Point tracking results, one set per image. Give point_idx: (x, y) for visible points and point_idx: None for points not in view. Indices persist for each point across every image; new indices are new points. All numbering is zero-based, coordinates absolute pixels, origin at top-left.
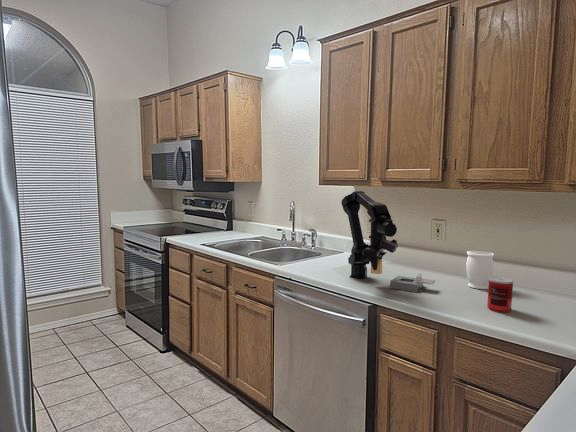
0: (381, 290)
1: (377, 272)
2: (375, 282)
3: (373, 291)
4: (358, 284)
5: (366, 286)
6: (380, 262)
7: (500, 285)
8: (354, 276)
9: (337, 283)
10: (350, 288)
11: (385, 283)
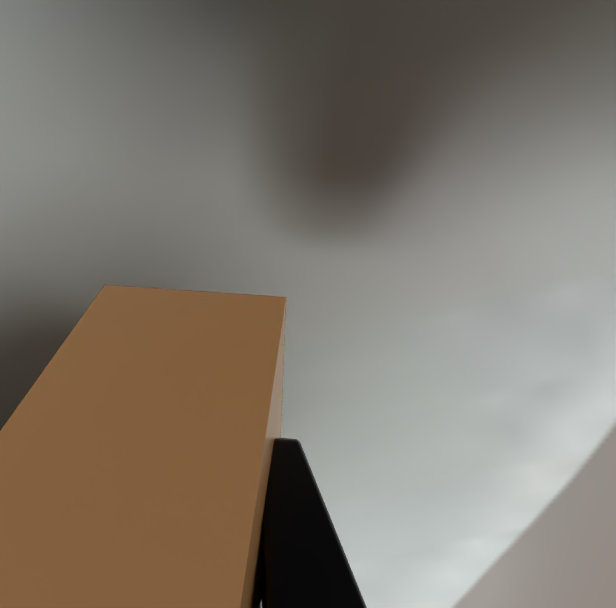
0: (499, 90)
1: (282, 368)
2: (73, 301)
3: (607, 196)
4: (314, 446)
5: (361, 349)
6: (173, 580)
7: None
8: None
9: (387, 599)
10: (542, 472)
11: (12, 150)
